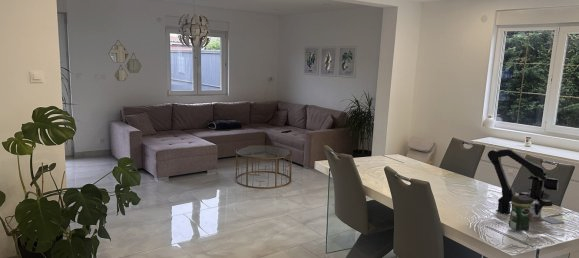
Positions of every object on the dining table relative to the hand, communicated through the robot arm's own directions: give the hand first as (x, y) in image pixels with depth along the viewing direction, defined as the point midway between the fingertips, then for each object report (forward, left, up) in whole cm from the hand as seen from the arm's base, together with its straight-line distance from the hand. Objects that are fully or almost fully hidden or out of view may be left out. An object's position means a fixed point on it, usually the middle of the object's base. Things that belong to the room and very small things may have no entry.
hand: (533, 213), depth 243 cm
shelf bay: (-1, 0, -3) cm, 3 cm away
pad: (+8, -6, -3) cm, 10 cm away
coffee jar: (-23, -12, -3) cm, 26 cm away
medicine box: (0, 0, -3) cm, 3 cm away
